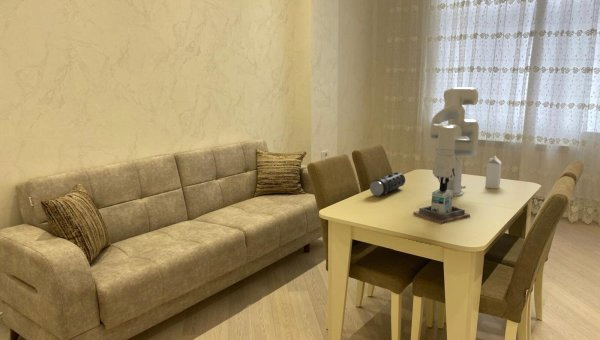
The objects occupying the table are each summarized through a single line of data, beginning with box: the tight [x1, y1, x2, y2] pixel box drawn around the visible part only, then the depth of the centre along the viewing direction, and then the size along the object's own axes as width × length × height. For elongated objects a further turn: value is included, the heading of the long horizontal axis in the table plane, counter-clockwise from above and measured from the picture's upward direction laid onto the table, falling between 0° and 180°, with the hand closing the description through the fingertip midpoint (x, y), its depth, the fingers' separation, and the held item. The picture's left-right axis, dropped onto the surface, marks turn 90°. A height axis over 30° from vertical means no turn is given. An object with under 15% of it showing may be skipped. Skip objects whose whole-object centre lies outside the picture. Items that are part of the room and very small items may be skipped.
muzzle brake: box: [369, 171, 406, 197], centre depth 252 cm, size 10×28×10 cm, turn 142°
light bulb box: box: [430, 188, 454, 214], centre depth 209 cm, size 11×7×11 cm, turn 142°
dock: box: [413, 205, 471, 225], centre depth 210 cm, size 20×17×4 cm
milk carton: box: [484, 155, 503, 189], centre depth 263 cm, size 7×7×19 cm
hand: (443, 190), depth 207 cm, fingers closed
